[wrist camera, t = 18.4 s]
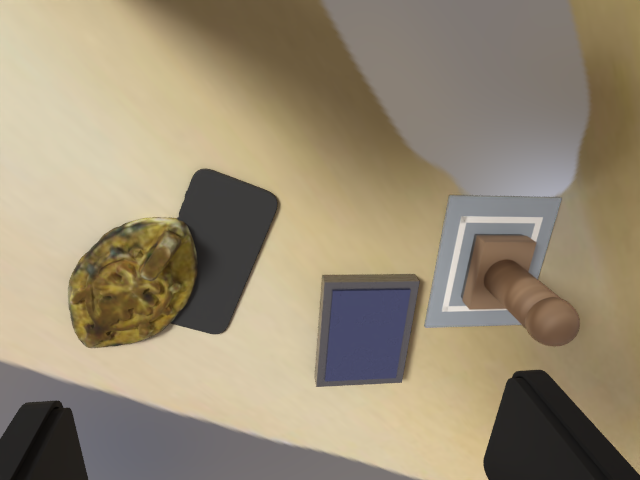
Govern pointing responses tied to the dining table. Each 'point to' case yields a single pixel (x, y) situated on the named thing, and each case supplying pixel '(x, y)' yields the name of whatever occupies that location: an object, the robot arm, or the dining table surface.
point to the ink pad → (364, 328)
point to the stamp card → (456, 243)
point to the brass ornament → (132, 282)
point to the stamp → (516, 288)
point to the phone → (222, 244)
